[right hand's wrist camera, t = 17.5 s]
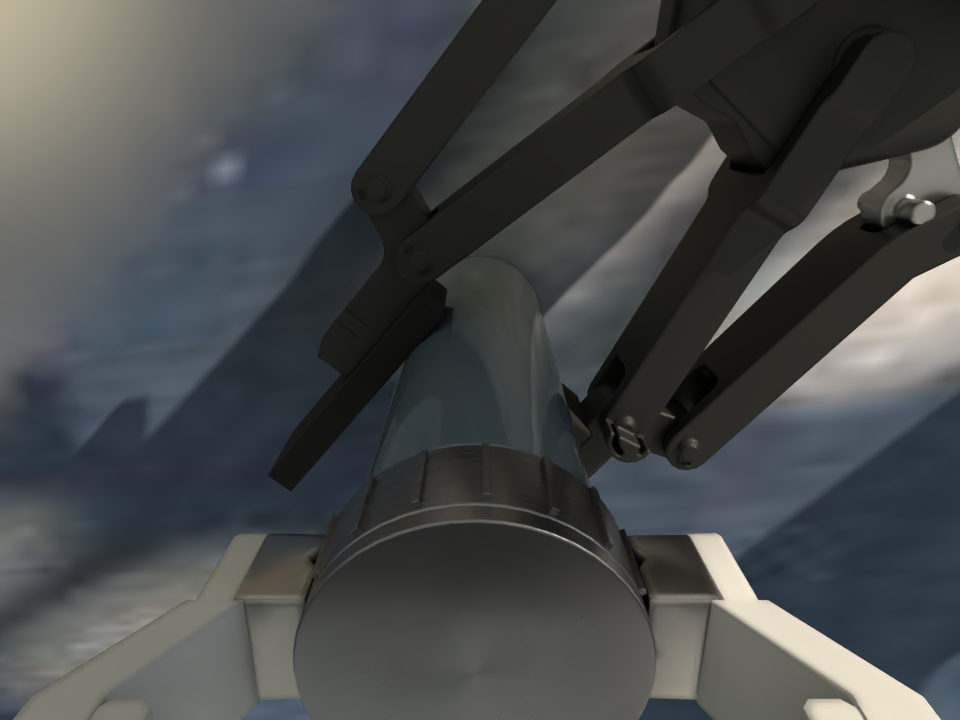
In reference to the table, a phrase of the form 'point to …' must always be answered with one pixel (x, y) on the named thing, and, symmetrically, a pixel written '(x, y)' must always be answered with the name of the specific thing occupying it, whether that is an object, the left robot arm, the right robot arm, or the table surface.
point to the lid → (475, 598)
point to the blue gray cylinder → (481, 376)
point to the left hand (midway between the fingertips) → (364, 507)
